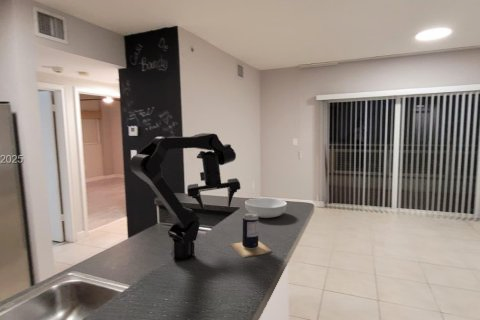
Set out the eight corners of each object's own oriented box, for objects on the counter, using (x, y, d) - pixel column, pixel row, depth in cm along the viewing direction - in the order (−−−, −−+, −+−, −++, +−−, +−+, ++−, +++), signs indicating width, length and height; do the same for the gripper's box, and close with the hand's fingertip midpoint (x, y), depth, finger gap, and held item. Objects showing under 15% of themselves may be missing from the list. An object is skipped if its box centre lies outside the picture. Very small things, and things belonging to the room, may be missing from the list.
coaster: (243, 257, 98) (243, 255, 98) (230, 245, 108) (230, 244, 108) (271, 252, 103) (271, 250, 103) (256, 241, 113) (256, 239, 113)
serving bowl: (285, 210, 157) (285, 198, 156) (287, 223, 136) (288, 208, 135) (246, 209, 159) (246, 196, 158) (242, 220, 138) (243, 206, 137)
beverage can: (259, 245, 107) (260, 213, 106) (255, 251, 102) (256, 217, 101) (245, 243, 109) (245, 211, 108) (240, 249, 104) (240, 215, 102)
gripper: (234, 160, 113) (238, 198, 117) (185, 166, 111) (190, 205, 114) (238, 166, 103) (242, 208, 106) (184, 174, 100) (190, 216, 104)
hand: (216, 209), depth 108 cm, fingers open, 9 cm apart
